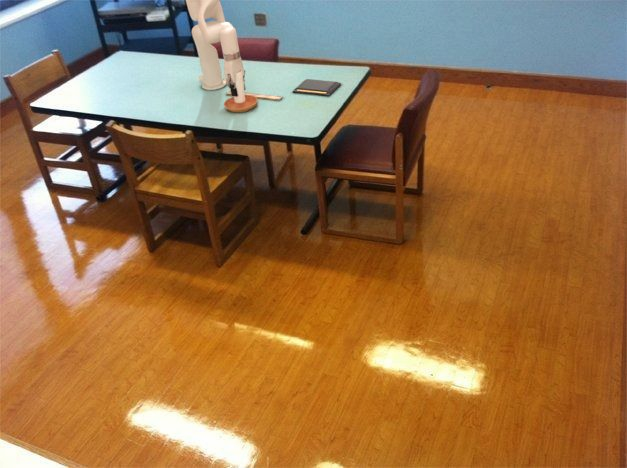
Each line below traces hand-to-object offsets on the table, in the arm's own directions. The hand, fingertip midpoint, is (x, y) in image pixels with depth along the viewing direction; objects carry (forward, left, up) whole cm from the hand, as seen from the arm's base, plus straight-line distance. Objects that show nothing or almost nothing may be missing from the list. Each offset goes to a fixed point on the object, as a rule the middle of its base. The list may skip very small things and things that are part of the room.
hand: (238, 92), depth 280 cm
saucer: (0, 0, -8) cm, 8 cm away
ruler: (0, +13, -7) cm, 15 cm away
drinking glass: (0, 0, -5) cm, 5 cm away
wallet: (+27, +28, -8) cm, 40 cm away
